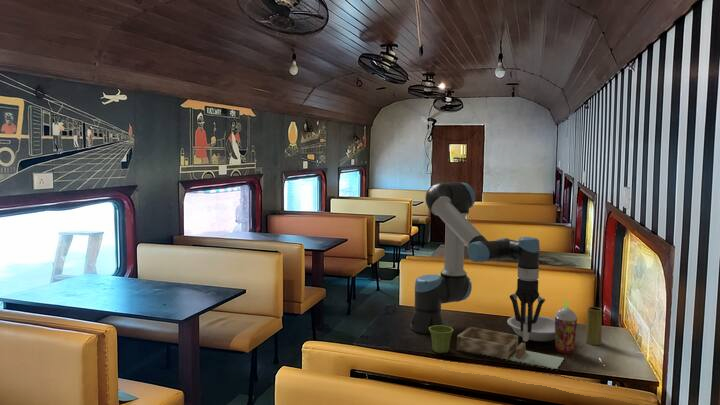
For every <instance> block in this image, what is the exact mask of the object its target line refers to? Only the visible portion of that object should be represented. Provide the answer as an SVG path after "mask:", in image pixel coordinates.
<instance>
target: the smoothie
mask: <svg viewBox="0 0 720 405" xmlns="http://www.w3.org/2000/svg"><path fill="white" fill-rule="evenodd" d="M553 316H554V319H555V339H554V340H555V342H554V344H555V345H554V346H555V348H556V351H557V352H558V353H561V354H566V355H567V354H572V353H573V351H574V350H575V344H576V335H577V334H576V333H577V326H578V325H577V324H578V316H577V315H576V313H575V312H574V311H573V309H571V308H569V307H568V300H565V305H564V307H562V308H559V309H558V310H557V311H556V312H555V314H554V315H553Z"/></svg>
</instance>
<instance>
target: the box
mask: <svg viewBox="0 0 720 405" xmlns="http://www.w3.org/2000/svg"><path fill="white" fill-rule="evenodd" d="M518 346H519V335H518V334H511V333H507V332H506V333H505V332H501V331H497V330H496V331H495V330H491V329H490V330H489V329H485V328H479V327H474V326H469V327H467V328H465V329H464V330H463V331H462V332H460V333H459V334H458V335H456V351H461V352H464V353H469V354H473V355H474V354H475V355H479V354H482V355H481V356H483V355H487V356H486V357H488V356H492V357H491V358H493V357H497V358H496V359H498V358H501V359H500V360H502V359H506V360H505V361H509V358H510V357H511V356H512V355H513V354H514V353H515V352H516V348H517V347H518Z"/></svg>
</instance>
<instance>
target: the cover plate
mask: <svg viewBox="0 0 720 405" xmlns="http://www.w3.org/2000/svg"><path fill="white" fill-rule="evenodd" d="M526 344H527V343H526V342H523V341H522V342H521V343H519V344H518V347H517V348H516V352H515V353H514V354H513V355H512V356H511V357H510V358H509V359H508V361H510V360H511V362H515V361H516V362H515V363H520V362H521V364H524V363H526V364H525V365H529V364H530V366H534V365H538V366H537V367H539V366H544V367H547V368H546V369H548V368H551V369H550V370H553V369H558V370H559V368H560V367H561V365H562V364H561V363H563V362H564V361H565V358H564V357H561V356H556V355H551V354H546V353H542V352H541V353H540V352H534V351H531V350H530V351H529V350H526V349H527V348H526V346H527V345H526ZM563 360H564V361H563ZM559 366H560V367H559ZM544 367H543V368H544ZM558 367H559V368H558Z"/></svg>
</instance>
